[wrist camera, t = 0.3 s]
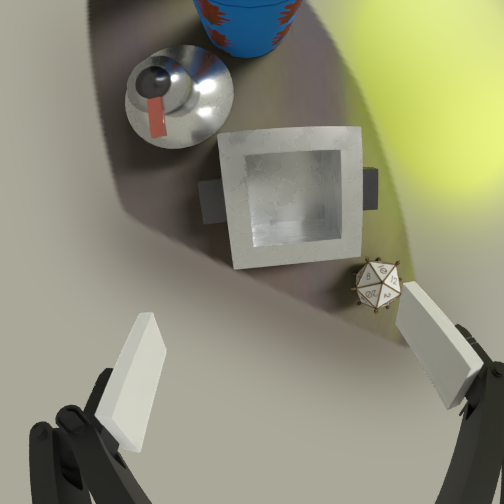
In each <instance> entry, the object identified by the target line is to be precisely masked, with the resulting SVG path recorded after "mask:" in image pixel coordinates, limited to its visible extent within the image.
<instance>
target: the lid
mask: <svg viewBox="0 0 504 504" xmlns="http://www.w3.org/2000/svg"><path fill="white" fill-rule="evenodd" d="M233 100H234V88H233V82H232V79H231V76H230V73H229V71H228V69H227V67H226V66H225V64H224V63H223V62H222V61H221V60H220V59H219V58H218V57H217V56H216V55H215V54H213V53H212V52H210V51H208V50H206V49H204V48H201V47H197V46H192V45H177V46H172V47H168V48H165V49H162V50H160V51H158V52H156V53H154V54H152V55H151V56H150V57H148V58H147V59H145V60H143V61H142V62H141V63H139V64H138V65H137V66H136V67H135V68H134V69H133V71H132V72H131V74H130V76H129V78H128V81H127V90H126V96H125V108H126V114H127V117H128V120H129V122H130V124H131V126H132V127H133V129H134V130H135V131H136V133H137V134H138V135H139V136H140V137H142V138H143V139H144V140H146V141H147V142H149V143H151V144H153V145H155V146H159V147H162V148H168V149H178V148H185V147H189V146H193V145H196V144H199V143H201V142H203V141H205V140H207V139H208V138H210V137H211V136H213V135H214V134H215V133H216V132H217V131H218V130H219V129H220V128H221V127H222V126H223V124H224V123H225V121H226V120H227V118H228V116H229V114H230V112H231V109H232V105H233Z"/></svg>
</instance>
